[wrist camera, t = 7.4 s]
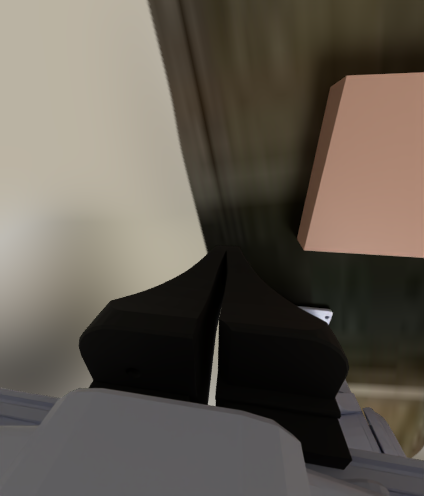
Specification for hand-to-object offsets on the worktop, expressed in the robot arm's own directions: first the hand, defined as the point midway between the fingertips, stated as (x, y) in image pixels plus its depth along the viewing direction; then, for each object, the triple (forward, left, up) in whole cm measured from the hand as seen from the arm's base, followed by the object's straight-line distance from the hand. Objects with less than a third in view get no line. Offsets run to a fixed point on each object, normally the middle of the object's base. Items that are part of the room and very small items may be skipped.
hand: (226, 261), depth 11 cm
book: (+4, -14, -10) cm, 18 cm away
